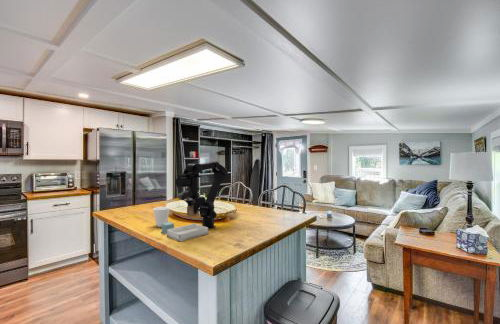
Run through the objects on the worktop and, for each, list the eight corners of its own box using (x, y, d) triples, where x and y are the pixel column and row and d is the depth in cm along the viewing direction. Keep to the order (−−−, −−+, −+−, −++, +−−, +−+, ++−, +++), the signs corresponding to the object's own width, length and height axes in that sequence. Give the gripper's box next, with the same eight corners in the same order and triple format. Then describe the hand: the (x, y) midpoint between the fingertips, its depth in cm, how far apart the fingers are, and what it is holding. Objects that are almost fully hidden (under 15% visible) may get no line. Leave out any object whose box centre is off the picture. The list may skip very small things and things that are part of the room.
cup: (164, 228, 152) (164, 210, 151) (149, 227, 154) (149, 209, 153) (173, 224, 161) (172, 207, 161) (158, 223, 163) (158, 206, 163)
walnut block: (186, 215, 143) (186, 206, 143) (195, 213, 146) (195, 205, 146) (190, 216, 139) (190, 207, 139) (199, 215, 142) (199, 206, 142)
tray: (195, 229, 150) (195, 223, 150) (208, 233, 141) (208, 227, 141) (166, 236, 137) (166, 229, 137) (179, 241, 128) (179, 234, 128)
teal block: (169, 230, 148) (169, 222, 148) (174, 232, 144) (173, 223, 144) (161, 232, 144) (161, 223, 144) (165, 234, 141) (165, 225, 141)
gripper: (172, 185, 145) (172, 212, 145) (186, 188, 130) (187, 218, 131) (190, 184, 152) (190, 209, 152) (205, 186, 137) (206, 215, 138)
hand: (193, 213), depth 143 cm, fingers closed on walnut block, 5 cm apart
